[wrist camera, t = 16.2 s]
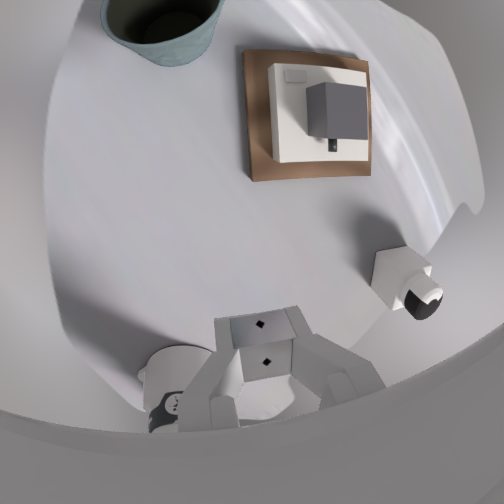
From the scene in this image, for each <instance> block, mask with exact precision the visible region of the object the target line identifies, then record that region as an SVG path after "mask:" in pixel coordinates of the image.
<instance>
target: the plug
mask: <svg viewBox="0 0 504 504" xmlns="http://www.w3.org/2000/svg"><path fill="white" fill-rule="evenodd" d="M306 101H307V122H308V136H312V137H320V138H327V139H328V152H337V139H354V140H368V108H367V87H362V86H356V85H348V84H340V83H331V82H323V83H320V84H317V85H314V86H310V87H307V88H306Z"/></svg>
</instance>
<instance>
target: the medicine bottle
mask: <svg viewBox="0 0 504 504" xmlns="http://www.w3.org/2000/svg"><path fill="white" fill-rule="evenodd" d="M431 269H432V264H431V263H430V262H428V261H427V260H426V259H425V258H423V257H422V256H421V255H419V254H418V253H417V252H415V251H414V250H413V249H411V248H410V247H408V246H404V247H399V248H393V249H388V250H382V251H378V252H376V257H375V264H374V271H373V277H372V282H371V288H372V290H373V291H374V292H375V293H376V294H377V295H378V296H379V297H380V298H381V300H382V301H383V302H384V303H385V304H386V305H387V306H388V307H389V309H390V310H392V311H393V310H396V309H399V308H402V307H405V308H406V309H407V310H408V312H409V313H410V314H411V315H412V316H413V317H414V318H415V319H416V320H423V319H426V318H428V317H429V316H431V315H432V314H433V313H434V312H435V311H436V309H437V308H438V307H439V305H440V303H441V300H442V297H443V290H442V288H441V286H439V285H438V284H437V283H436V282H435V281H434V280H432V279H431V278H430V273H431Z"/></svg>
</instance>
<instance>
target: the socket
mask: <svg viewBox="0 0 504 504" xmlns="http://www.w3.org/2000/svg"><path fill="white" fill-rule="evenodd" d="M268 81H269V96H270V112H271V129H272V148H273V160H275V161H277V162H279V163H285V162H306V161H368V140H354V139H337V152H328V139H327V138H320V137H312V136H308V122H307V101H306V88H307V87H310V86H314V85H317V84H320V83H323V82H331V83H340V84H348V85H356V86H362V87H367V81H366V73H365V72H360V71H354V70H347V69H340V68H333V67H324V66H314V65H302V64H282V63H274V64H273V65H271V66H270V67H269V68H268ZM367 108H368V98H367Z"/></svg>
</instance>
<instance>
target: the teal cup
mask: <svg viewBox="0 0 504 504" xmlns="http://www.w3.org/2000/svg"><path fill="white" fill-rule="evenodd" d="M224 2H225V0H103V3H102V6H101V23H102V26H103V29H104V31H105V32H106V33H107V35H108V36H109V37H110V38H111V39H113V40H114V41H116V42H117V43H119V44H121V45H123V46H125V47H127V48H129V49H131V50H133V51H134V52H136V53H138V54H139V55H141V56H143V57H144V58H146V59H148V60H149V61H151V62H153V63H155V64H157V65H160V66H167V67H174V66H180V65H184V64H188V63H190V62H192V61H193V60H195V59H197V58H198V57H199V56H201V55H202V54H203V53H204V52H205V51H206V49H207V48H208V46H209V44H210V43H211V40H212V36H213V33H214V28H215V24H216V23H217V20H218V17H219V14H220V12H221V9H222V7H223V4H224Z"/></svg>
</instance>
